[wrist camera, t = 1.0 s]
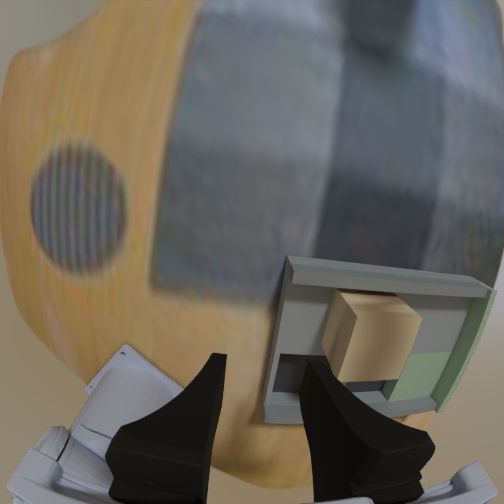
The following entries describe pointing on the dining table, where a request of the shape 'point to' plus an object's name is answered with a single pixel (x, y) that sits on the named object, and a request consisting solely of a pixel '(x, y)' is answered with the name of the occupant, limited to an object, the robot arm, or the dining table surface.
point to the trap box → (423, 349)
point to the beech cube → (368, 335)
